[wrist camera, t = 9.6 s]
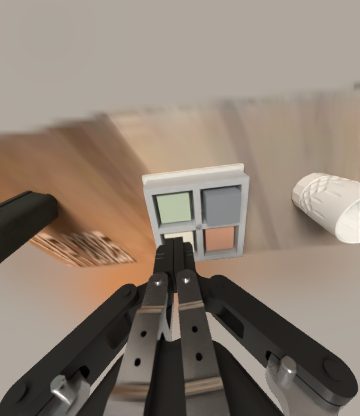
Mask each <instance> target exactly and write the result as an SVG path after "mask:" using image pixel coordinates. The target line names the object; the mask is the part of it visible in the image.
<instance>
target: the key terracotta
mask: <svg viewBox="0 0 360 416" xmlns="http://www.w3.org/2000/svg"><path fill="white" fill-rule="evenodd" d="M203 237H204V243H205V247H206V251H212V250H221V249H230V248H233V239H234V226H227V227H219V228H210V229H203Z"/></svg>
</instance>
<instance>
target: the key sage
mask: <svg viewBox="0 0 360 416" xmlns="http://www.w3.org/2000/svg"><path fill="white" fill-rule="evenodd" d="M157 201H158V207H159V212H160V217H161V222H162V223H171V222H179V221H188V220H191V213H190V202H189V192H188V191H181V192H173V193H164V194H157Z"/></svg>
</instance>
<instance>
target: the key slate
mask: <svg viewBox="0 0 360 416" xmlns="http://www.w3.org/2000/svg"><path fill="white" fill-rule="evenodd" d="M202 191H203V210H204V217H205V220H206V223H207V226H213V225H222V224H231V223H240V208H241V194H242V193H241V192H240V191H239V190H238V189H237V188H236V187H235V186H234V185H232V186H223V187H215V188H206V189H202Z"/></svg>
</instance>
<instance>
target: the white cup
mask: <svg viewBox="0 0 360 416" xmlns="http://www.w3.org/2000/svg"><path fill="white" fill-rule="evenodd" d="M292 200H293V202H294V204H295V205H296V206H297V207H299V208H300V209H301V210H303V211H304V212H305V213H306V214H307V215H308V216H309V217H311V218H312V219H313V220H314V221H315V222H317V223H318V224H319V225H321V226H322V227H323V228H324V229H326V230H327V231H328V232H330V233H331V234H332V235H334V236H335V237H336V238H337V239H339V240H340V241H342V242H344V243H348V244H356V243H360V182H357V181H354V180H349V179H345V178H342V177H337V176H332V175H328V174H325V173H312V174H310V175H308V176H305V177H304V178H302V179H301V180H300V181H299V182H298V183H297V184H296V186H295V187H294V189H293V191H292Z"/></svg>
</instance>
